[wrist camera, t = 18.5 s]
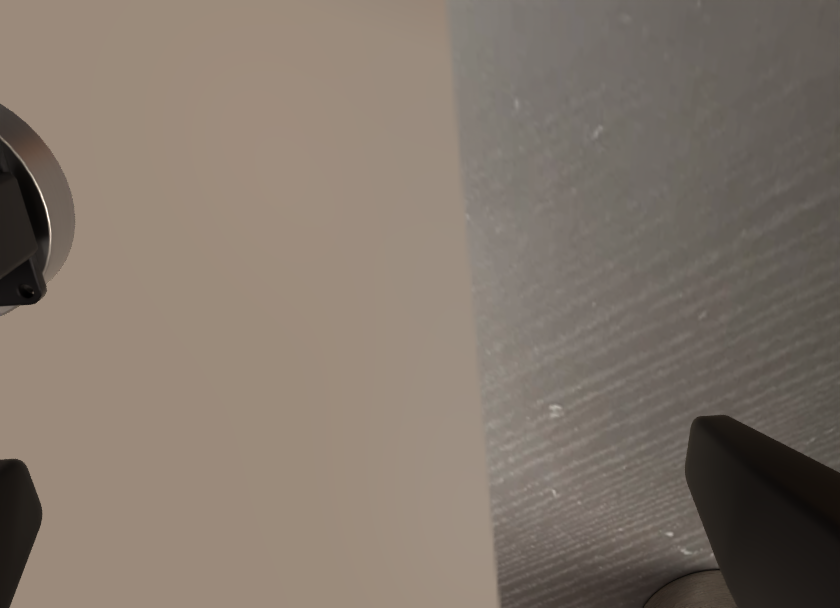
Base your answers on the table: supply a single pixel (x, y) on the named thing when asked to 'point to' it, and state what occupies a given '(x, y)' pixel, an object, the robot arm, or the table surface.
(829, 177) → the table surface
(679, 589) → the grey and red cylinder
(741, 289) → the table surface
